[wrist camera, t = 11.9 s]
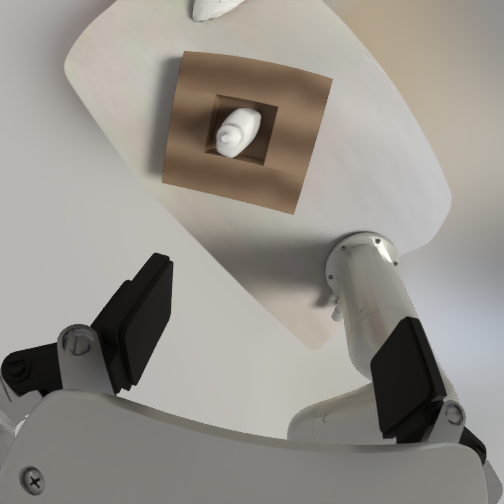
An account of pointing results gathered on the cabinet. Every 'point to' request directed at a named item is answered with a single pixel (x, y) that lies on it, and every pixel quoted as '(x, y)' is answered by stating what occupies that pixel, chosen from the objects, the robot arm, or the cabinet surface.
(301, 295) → the cabinet surface
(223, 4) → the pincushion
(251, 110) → the eye dropper bottle
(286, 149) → the walnut socket block
